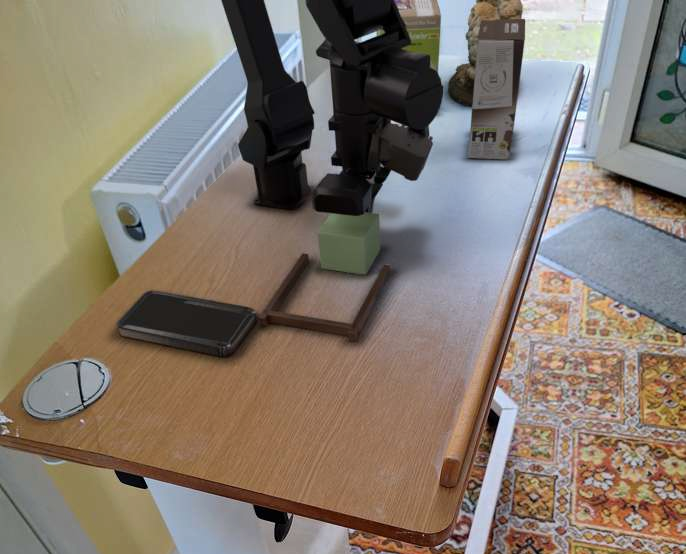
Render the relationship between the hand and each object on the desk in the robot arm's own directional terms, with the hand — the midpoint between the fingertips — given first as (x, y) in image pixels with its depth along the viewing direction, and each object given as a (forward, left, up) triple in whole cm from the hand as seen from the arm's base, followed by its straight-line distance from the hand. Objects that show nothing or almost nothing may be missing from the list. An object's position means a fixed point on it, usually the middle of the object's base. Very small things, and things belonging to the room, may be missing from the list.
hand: (363, 230), depth 88 cm
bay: (0, -14, -1) cm, 14 cm away
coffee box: (+11, +30, -1) cm, 32 cm away
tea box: (-7, +46, -1) cm, 46 cm away
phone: (-14, -23, -1) cm, 27 cm away
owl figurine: (+5, +53, -1) cm, 53 cm away
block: (0, -5, -1) cm, 5 cm away
